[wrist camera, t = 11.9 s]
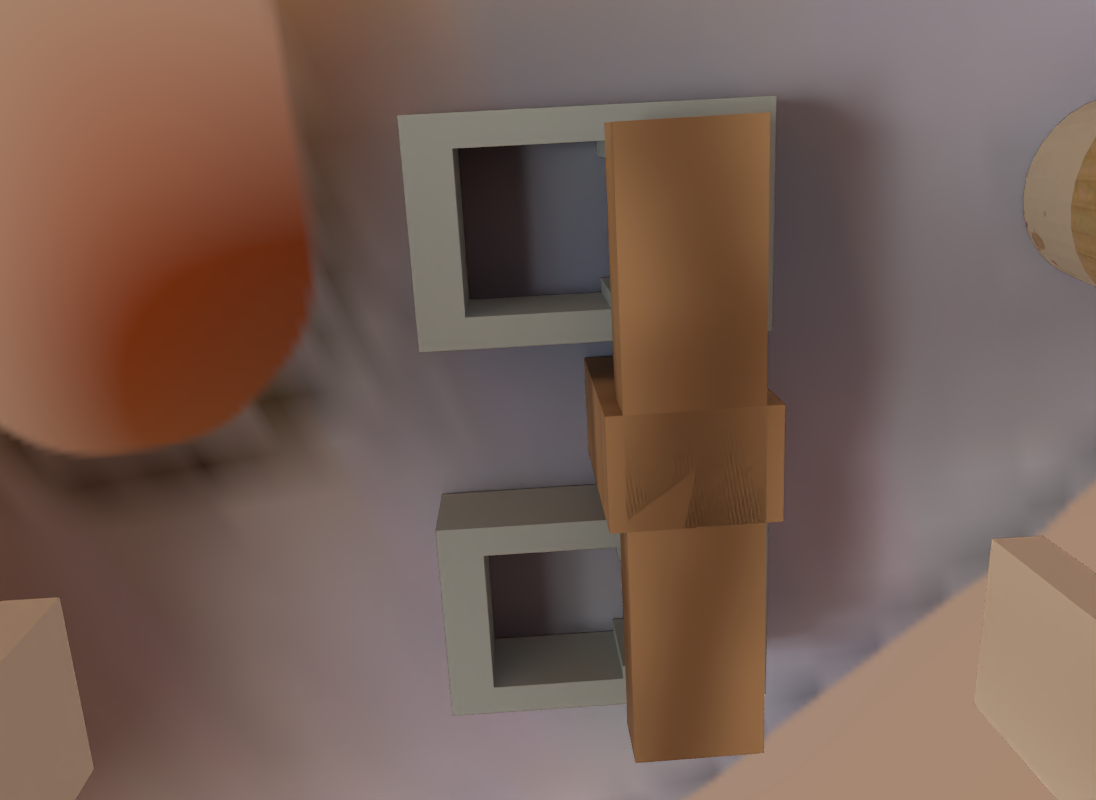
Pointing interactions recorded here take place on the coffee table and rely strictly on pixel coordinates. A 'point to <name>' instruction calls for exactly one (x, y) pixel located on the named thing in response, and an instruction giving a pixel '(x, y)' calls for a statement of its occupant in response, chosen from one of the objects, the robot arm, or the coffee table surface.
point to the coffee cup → (1065, 196)
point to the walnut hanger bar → (689, 427)
